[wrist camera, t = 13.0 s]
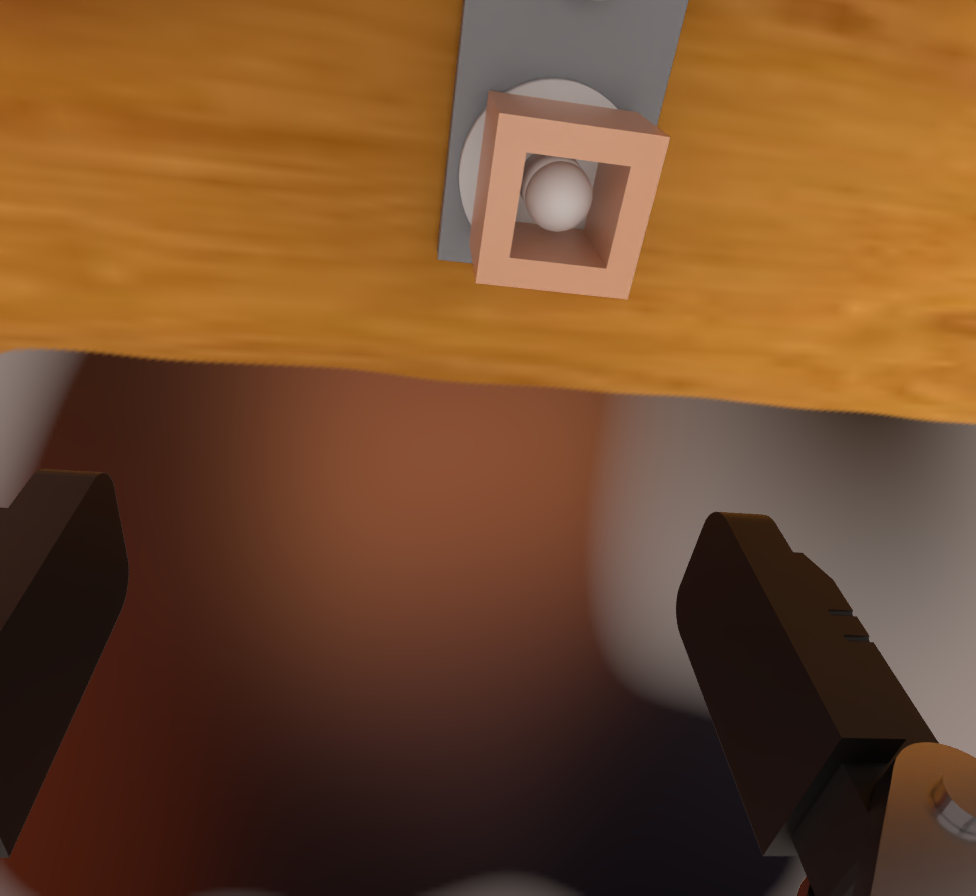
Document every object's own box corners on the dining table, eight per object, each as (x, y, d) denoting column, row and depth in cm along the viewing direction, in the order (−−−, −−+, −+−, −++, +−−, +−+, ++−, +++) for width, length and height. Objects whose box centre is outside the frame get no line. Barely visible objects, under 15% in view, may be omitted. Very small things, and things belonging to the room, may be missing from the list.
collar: (488, 90, 30) (499, 112, 26) (637, 111, 31) (670, 137, 27) (469, 242, 34) (475, 283, 30) (603, 257, 35) (627, 299, 30)
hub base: (484, -200, 27) (499, -236, 22) (714, -154, 28) (782, -177, 23) (437, 249, 36) (439, 300, 31) (611, 268, 38) (642, 321, 32)
